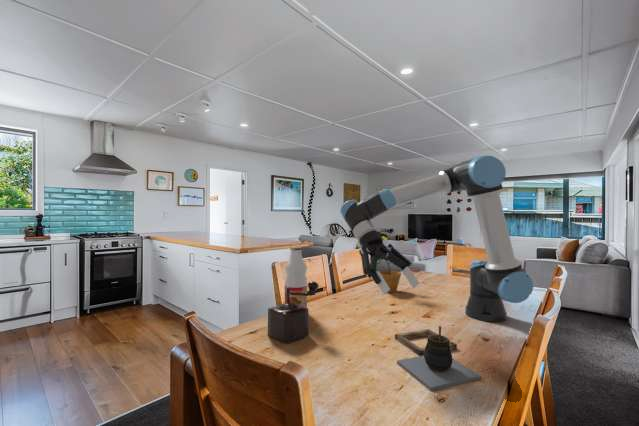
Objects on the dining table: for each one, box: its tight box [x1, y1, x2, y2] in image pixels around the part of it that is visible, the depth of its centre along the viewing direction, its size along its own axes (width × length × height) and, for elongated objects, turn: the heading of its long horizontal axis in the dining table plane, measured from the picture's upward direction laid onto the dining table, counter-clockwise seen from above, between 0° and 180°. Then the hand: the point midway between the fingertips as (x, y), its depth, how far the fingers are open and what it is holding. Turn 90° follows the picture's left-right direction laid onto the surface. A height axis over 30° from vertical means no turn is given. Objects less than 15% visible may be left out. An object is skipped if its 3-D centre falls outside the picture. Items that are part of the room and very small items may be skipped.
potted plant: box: [377, 235, 402, 293], centre depth 165 cm, size 18×19×30 cm
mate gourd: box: [423, 326, 453, 371], centre depth 83 cm, size 7×8×10 cm
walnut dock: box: [394, 328, 458, 356], centre depth 99 cm, size 14×13×2 cm
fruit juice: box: [284, 246, 308, 308], centre depth 128 cm, size 9×9×28 cm
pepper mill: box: [267, 281, 319, 345], centre depth 107 cm, size 16×11×18 cm
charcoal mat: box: [396, 355, 482, 392], centre depth 82 cm, size 16×14×1 cm
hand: (402, 288), depth 93 cm, fingers open, 13 cm apart
